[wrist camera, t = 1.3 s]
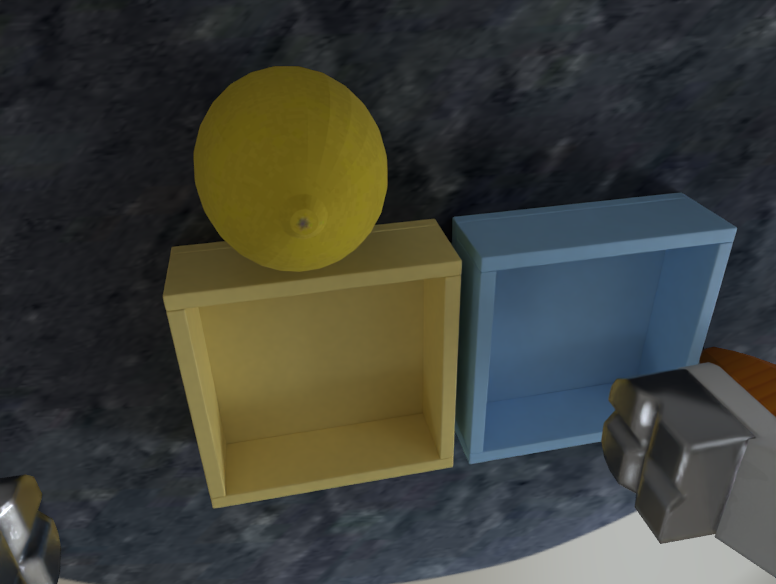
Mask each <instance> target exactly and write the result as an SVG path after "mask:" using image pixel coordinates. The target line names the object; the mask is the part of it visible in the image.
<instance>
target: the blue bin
mask: <svg viewBox="0 0 776 584" xmlns="http://www.w3.org/2000/svg"><path fill="white" fill-rule="evenodd" d="M736 231H737V227H735V226H734V225H732V224H731V223H729V222H727V221H726V220H724V219H723V218H721V217H720V216H718V215H716V214H715V213H713V212H712V211H710V210H708V209H707V208H705V207H704V206H702V205H700V204H699V203H697V202H696V201H694V200H692V199H691V198H688V197H687V196H686V195H684V194H683V193H672V194H662V195H653V196H644V197H634V198H625V199H616V200H606V201H597V202H588V203H578V204H569V205H560V206H551V207H541V208H532V209H523V210H513V211H504V212H495V213H485V214H476V215H467V216H458V217H453V219H452V246H453V248H454V249H455V251H456V252H457V254H458V256H459V257H460V259H461V260H462V270H461V291H460V314H459V337H458V360H457V383H456V406H455V432H456V434H457V436H458V439H459V441H460V443H461V446H462V448H463V450H464V453H465V455H466V458H467V460H468V462H469V464H473V463H479V462H485V461H491V460H496V459H502V458H508V457H514V456H519V455H525V454H531V453H537V452H542V451H548V450H554V449H560V448H565V447H571V446H577V445H583V444H588V443H594V442H600V441H601V438H602V431H603V425H604V422H605V421H606V420H607V419H608V417H609V416H610V415H611V414H612V413H613V412H614V411H615V409H614V407H613V406H612V404H611V403H610V402H609V400H608V399H609V394H610V389H611V386H612V385H613V383H614V382H615V380H616V379H618V378H624V377H630V376H636V375H641V374H647V373H653V372H659V371H665V370H671V369H677V368H680V367H685V366H691V365H696V364H698V363H699V359H700V356H701V352H702V349H703V345H704V342H705V338H706V335H707V331H708V328H709V324H710V321H711V317H712V314H713V310H714V307H715V303H716V300H717V296H718V293H719V289H720V286H721V282H722V279H723V275H724V272H725V268H726V265H727V261H728V258H729V254H730V251H731V247H732V244H733V242H732V241H734V238H735V234H736Z"/></svg>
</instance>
